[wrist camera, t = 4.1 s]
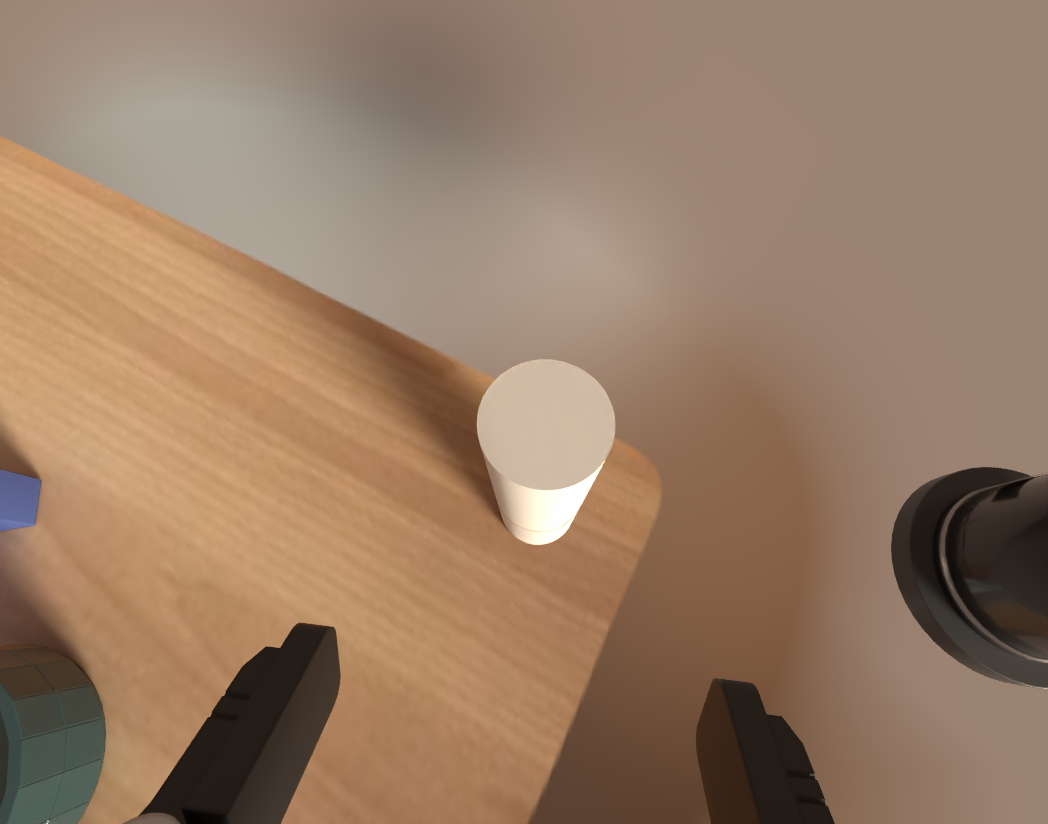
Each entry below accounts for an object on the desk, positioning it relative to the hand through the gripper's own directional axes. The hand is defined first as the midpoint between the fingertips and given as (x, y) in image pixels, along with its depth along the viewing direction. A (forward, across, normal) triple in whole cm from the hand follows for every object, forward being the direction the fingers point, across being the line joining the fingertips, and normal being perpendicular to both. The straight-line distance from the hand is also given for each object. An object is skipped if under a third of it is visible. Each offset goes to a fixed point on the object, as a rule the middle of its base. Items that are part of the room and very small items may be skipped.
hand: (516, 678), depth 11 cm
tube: (+18, 0, +8) cm, 19 cm away
